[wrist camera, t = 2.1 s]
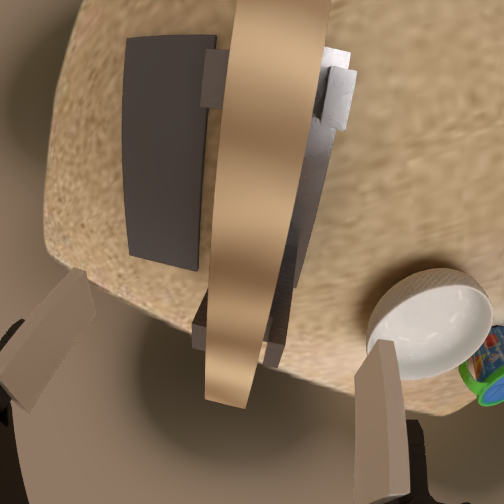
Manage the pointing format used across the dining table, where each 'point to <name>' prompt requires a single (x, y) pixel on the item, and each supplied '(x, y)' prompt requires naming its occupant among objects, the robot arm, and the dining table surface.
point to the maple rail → (257, 178)
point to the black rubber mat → (164, 146)
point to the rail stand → (309, 188)
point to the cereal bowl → (432, 321)
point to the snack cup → (487, 369)
